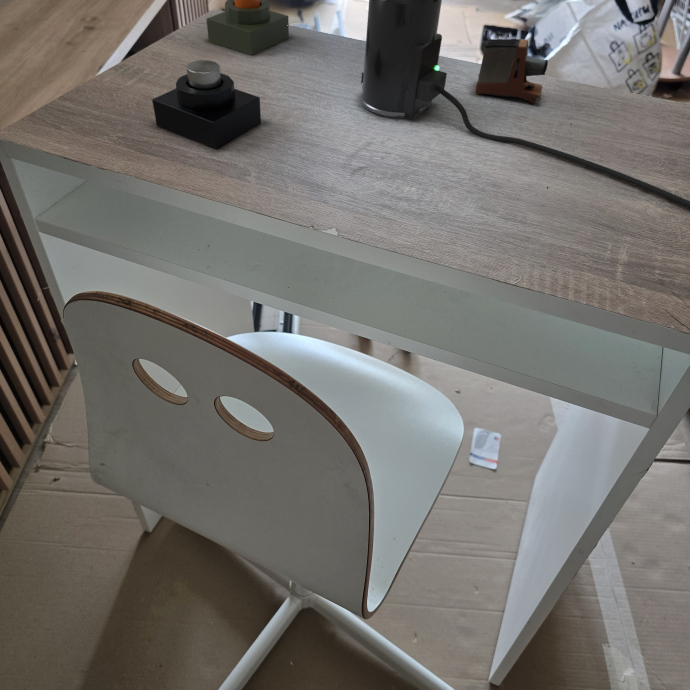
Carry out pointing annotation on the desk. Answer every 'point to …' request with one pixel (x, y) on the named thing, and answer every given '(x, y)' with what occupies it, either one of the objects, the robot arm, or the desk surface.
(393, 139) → the desk surface
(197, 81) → the button near
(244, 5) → the button far
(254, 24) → the block far
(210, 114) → the block near
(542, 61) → the electronic device
